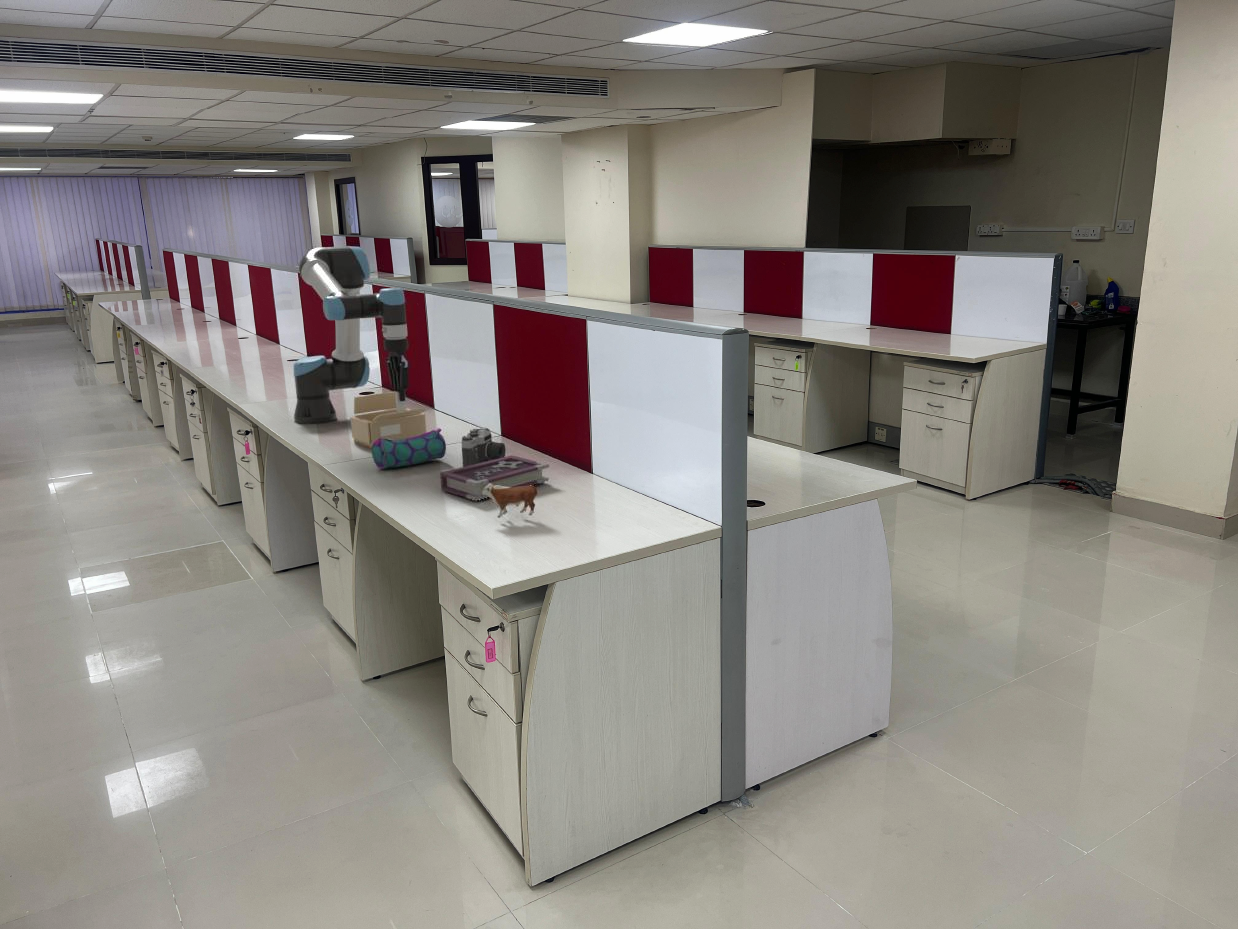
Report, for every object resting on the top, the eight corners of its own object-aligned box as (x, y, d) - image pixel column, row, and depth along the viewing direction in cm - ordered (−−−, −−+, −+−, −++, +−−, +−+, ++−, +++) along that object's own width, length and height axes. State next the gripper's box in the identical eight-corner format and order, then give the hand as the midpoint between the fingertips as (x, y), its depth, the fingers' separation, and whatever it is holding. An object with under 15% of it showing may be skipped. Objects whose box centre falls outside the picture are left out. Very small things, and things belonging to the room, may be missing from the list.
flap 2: (421, 413, 296) (428, 408, 291) (373, 420, 285) (379, 415, 281) (420, 411, 296) (428, 406, 291) (372, 419, 285) (379, 414, 281)
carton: (351, 442, 298) (349, 416, 295) (407, 432, 310) (405, 407, 308) (371, 450, 287) (368, 423, 284) (428, 439, 299) (426, 413, 297)
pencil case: (384, 472, 259) (381, 441, 257) (372, 467, 266) (369, 435, 264) (448, 461, 271) (446, 430, 269) (435, 455, 278) (433, 425, 276)
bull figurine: (483, 513, 220) (481, 481, 218) (538, 510, 221) (536, 479, 219) (482, 518, 216) (480, 486, 213) (538, 516, 217) (536, 484, 214)
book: (476, 501, 231) (475, 483, 230) (440, 490, 242) (439, 472, 241) (549, 481, 249) (549, 464, 247) (513, 471, 259) (512, 454, 258)
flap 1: (354, 413, 296) (354, 397, 294) (401, 406, 307) (401, 390, 304) (354, 414, 296) (354, 397, 293) (401, 407, 307) (402, 391, 304)
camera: (491, 470, 260) (489, 437, 257) (460, 468, 263) (457, 435, 260) (511, 457, 275) (510, 425, 272) (481, 455, 277) (479, 424, 275)
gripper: (375, 337, 284) (382, 409, 290) (393, 340, 274) (400, 415, 280) (397, 335, 289) (403, 406, 295) (415, 338, 279) (421, 411, 285)
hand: (401, 410), depth 287 cm, fingers closed
